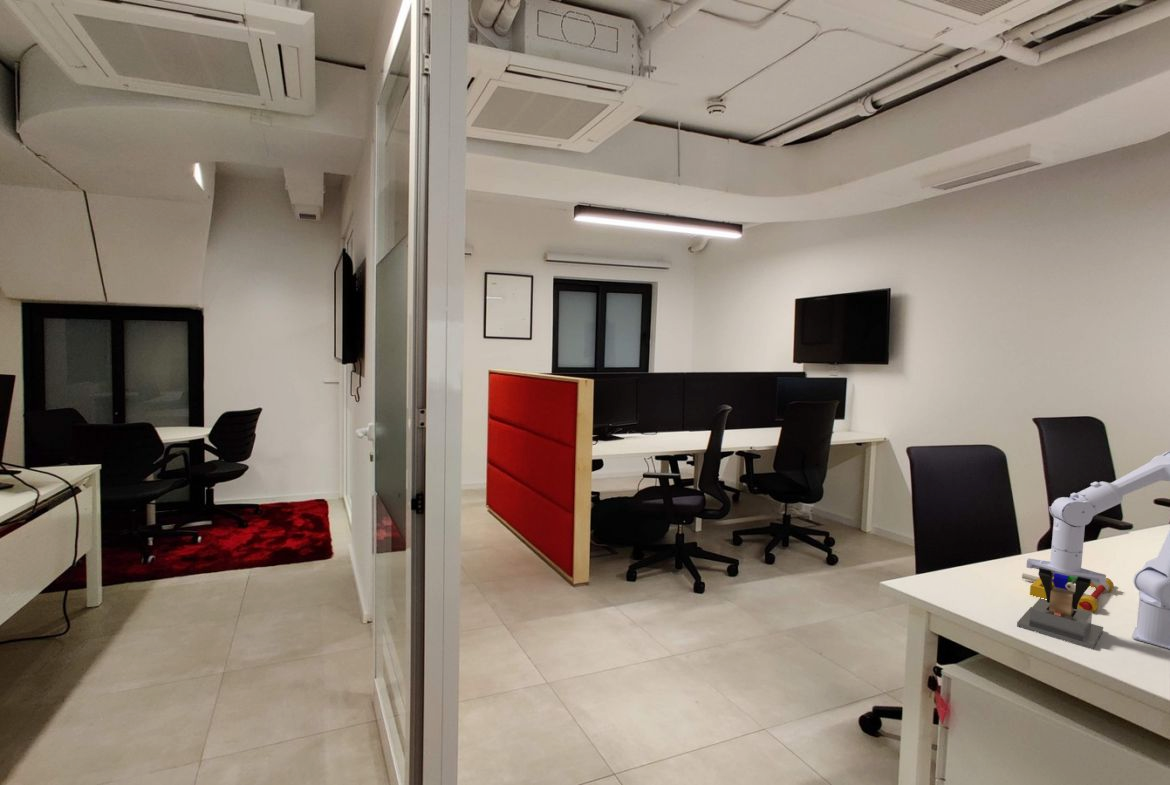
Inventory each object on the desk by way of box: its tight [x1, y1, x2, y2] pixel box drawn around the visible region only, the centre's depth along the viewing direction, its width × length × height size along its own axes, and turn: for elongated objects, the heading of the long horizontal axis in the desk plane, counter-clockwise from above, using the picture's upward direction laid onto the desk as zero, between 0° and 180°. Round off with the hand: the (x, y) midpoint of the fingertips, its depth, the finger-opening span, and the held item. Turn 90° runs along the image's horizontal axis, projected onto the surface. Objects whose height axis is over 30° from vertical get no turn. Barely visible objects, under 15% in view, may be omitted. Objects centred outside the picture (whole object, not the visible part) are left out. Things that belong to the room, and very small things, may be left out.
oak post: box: [1049, 587, 1075, 617], centre depth 140 cm, size 4×4×8 cm
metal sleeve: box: [1016, 598, 1104, 650], centre depth 140 cm, size 14×14×5 cm
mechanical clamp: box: [1021, 572, 1115, 613], centre depth 165 cm, size 18×6×30 cm
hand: (1061, 604), depth 140 cm, fingers closed on oak post, 4 cm apart
